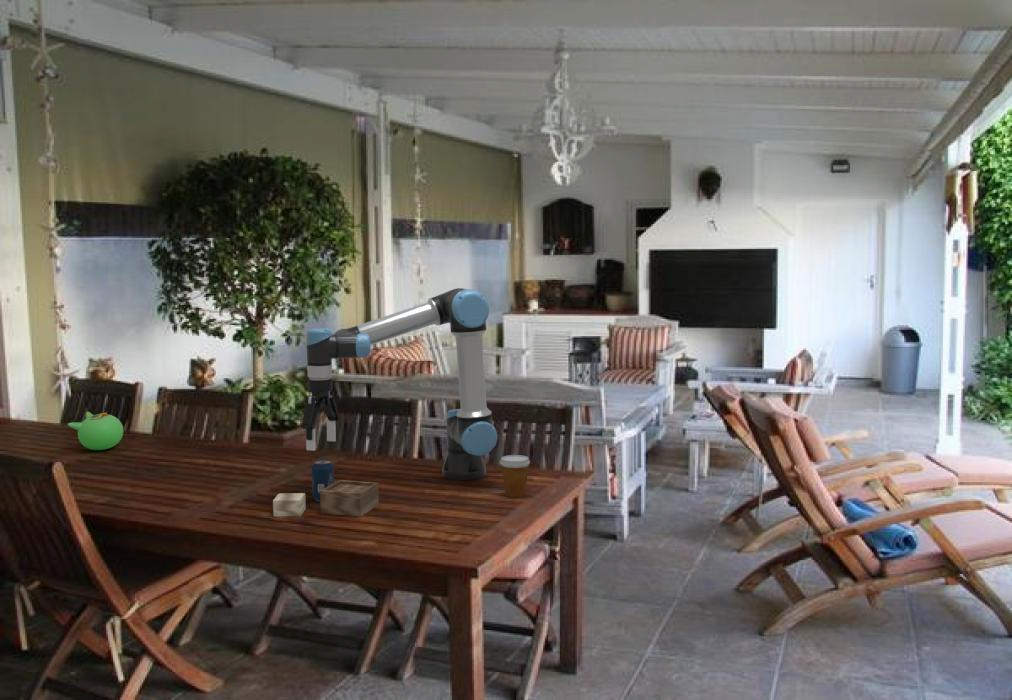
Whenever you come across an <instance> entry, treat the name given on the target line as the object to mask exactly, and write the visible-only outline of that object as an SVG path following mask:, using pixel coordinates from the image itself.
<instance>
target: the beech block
mask: <svg viewBox="0 0 1012 700" xmlns="http://www.w3.org/2000/svg"><path fill="white" fill-rule="evenodd" d="M306 506H307V505H306V493H305V492H304V493H303V492H298V493H296V492H293V493H288V492H287V493H284V492H283V493H278V494H277V495H276V496H275V497H274V499H273V500H272V508H273V510H272V511H273V517H278V518H279V517H301V516H302V515H303V513H304V512H305V510H306V509H307V507H306Z"/></svg>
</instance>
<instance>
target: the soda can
mask: <svg viewBox="0 0 1012 700" xmlns="http://www.w3.org/2000/svg"><path fill="white" fill-rule="evenodd" d="M332 461H333V460H331V459H317V460H315V461H313V462H312V466H311V490H312V493H311V494H312V495H311V496H312V497H313V500H315V501H316V502H320V491H321V490H322V489H324V488H326V487H328V486H330V485H332V484H333V483H335V466H334V464H333V462H332Z"/></svg>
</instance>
